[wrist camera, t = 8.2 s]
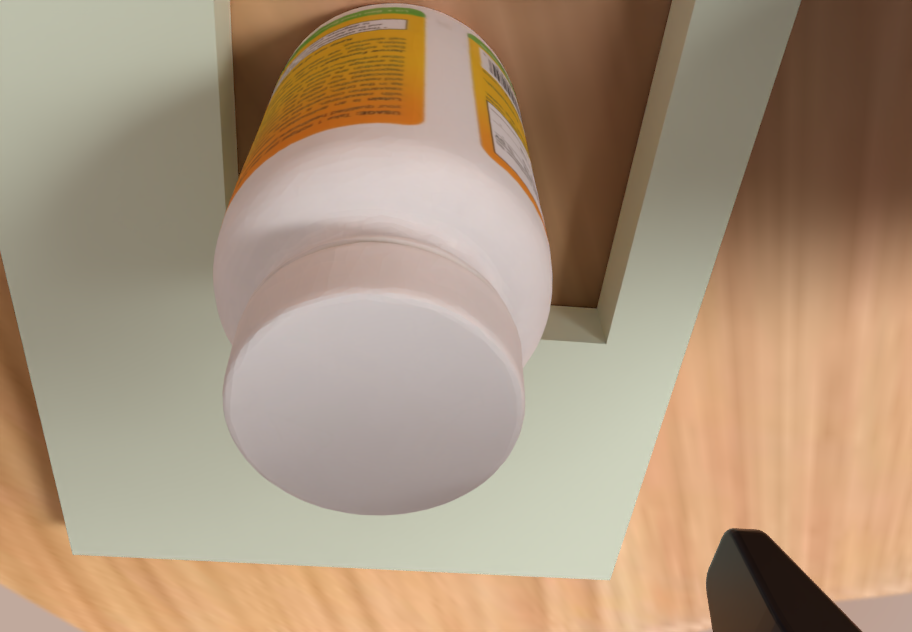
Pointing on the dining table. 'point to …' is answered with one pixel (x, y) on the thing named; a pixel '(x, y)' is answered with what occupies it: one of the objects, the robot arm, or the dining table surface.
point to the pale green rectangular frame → (208, 348)
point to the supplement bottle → (383, 268)
